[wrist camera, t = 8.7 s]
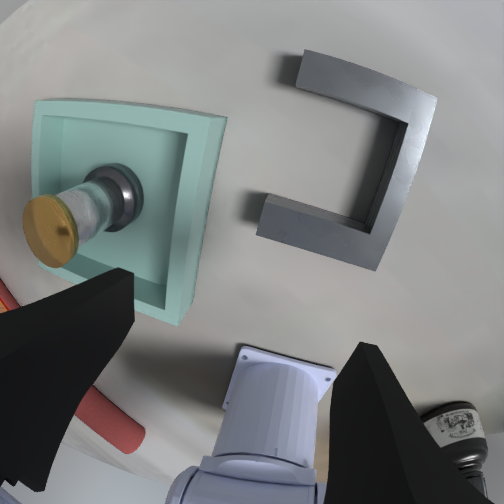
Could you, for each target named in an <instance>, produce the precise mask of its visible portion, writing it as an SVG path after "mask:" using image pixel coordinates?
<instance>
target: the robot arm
mask: <svg viewBox="0 0 504 504" xmlns="http://www.w3.org/2000/svg"><path fill="white" fill-rule="evenodd" d="M134 321H135V315H134V273H133V272H130V271H127V270H125V269H122V268H119V267H117V268H114V269H112V270H109V271H107V272H104V273H102V274H100V275H97V276H95V277H93V278H91V279H88V280H86V281H84V282H82V283H79V284H77V285H75V286H72V287H70V288H68V289H66V290H63V291H61V292H59V293H56V294H54V295H51V296H48V297H46V298H43V299H41V300H38V301H36V302H34V303H31V304H28V305H25V306H22V307H19V308H16V309H13V310H9V311H6V312H3V313H0V504H21V503H20V502H19V501H18V500H16V499H15V498H14V497H13V496H11V495H10V494H9V493H8V492H7V491H5V490H4V489H3V488H2V487H1V485H2V483H3V482H4V480H6V481H7V482H8V483H9V484H10V485H12V486H15V485H16V483H17V481H18V480H19V481H20V482H21V483H23V484H24V485H26V486H27V487H29V488H30V489H31V490H33V491H34V492H41V491H44V490H45V487H46V483H47V479H48V476H49V473H50V469H51V466H52V463H53V461H54V458H55V456H56V453H57V450H58V448H59V445H60V443H61V441H62V439H63V436H64V434H65V432H66V430H67V428H68V425H69V423H70V421H71V419H72V417H73V416H74V414H75V412H76V410H77V408H78V406H79V404H80V402H81V401H82V399H83V397H84V396H85V394H86V393H87V391H88V390H89V388H90V387H91V386H92V384H93V383H94V382H95V380H96V379H97V377H98V376H99V375H100V373H101V372H102V371H103V369H104V368H105V366H106V365H107V364H108V362H109V361H110V360H111V358H112V357H113V356H114V354H115V353H116V352H117V350H118V349H119V347H120V346H121V344H122V343H123V341H124V339H125V337H126V336H127V334H128V332H129V330H130V328H131V327H132V325H133V323H134ZM243 355H245V356H243ZM246 356H247V357H246ZM327 377H329V378H327ZM335 377H336V370H335V369H332V368H327V367H323V366H319V365H315V364H311V363H307V362H303V361H299V360H295V359H291V358H288V357H284V356H280V355H277V354H273V353H269V352H266V351H262V350H259V349H256V348H252V347H249V346H243V347H241V349H240V352H239V356H238V359H237V362H236V365H235V368H234V372H233V375H232V378H231V381H230V384H229V387H228V391H227V394H226V397H225V400H224V403H223V406H222V408H223V409H224V410H226V413H225V416H224V419H223V422H222V425H221V428H220V431H219V434H218V437H217V441H216V444H215V447H214V450H213V453H212V456H211V457H210V456H203V459H202V462H201V464H200V467H198V466H191V467H189V468H187V469H186V470H185V471H183V472H181V473H180V474H179V475H178V476H177V477H176V479H175V480H174V482H173V483H172V485H171V487H170V490H169V492H168V495H167V498H166V501H165V504H494V503H493V502H491V501H490V500H489V499H487V498H486V497H485V496H484V495H483V494H482V493H481V492H480V491H479V490H478V489H476V488H475V487H474V486H473V485H472V484H471V483H470V482H469V481H468V480H467V479H466V478H465V477H464V475H463V474H462V473H461V472H460V471H459V470H458V469H457V468H456V466H455V465H454V464H453V463H452V462H451V461H450V459H449V458H448V457H447V456H446V454H445V453H444V452H443V450H442V449H441V448H440V446H439V445H438V444H437V442H436V441H435V440H434V438H433V437H432V435H431V434H430V433H429V431H428V430H427V428H426V427H425V425H424V423H423V422H422V420H421V419H420V417H419V416H418V414H417V412H416V411H415V409H414V407H413V406H412V404H411V402H410V401H409V399H408V397H407V396H406V394H405V392H404V390H403V389H402V387H401V385H400V383H399V382H398V380H397V378H396V376H395V375H394V373H393V371H392V369H391V368H390V366H389V364H388V362H387V361H386V359H385V357H384V356H383V354H382V352H381V351H380V349H379V348H378V346H377V345H373V344H368V343H364V342H359V344H358V345H357V347H356V349H355V350H354V352H353V353H352V355H351V357H350V358H349V360H348V361H347V363H346V364H345V366H344V367H343V369H342V370H341V372H340V373H339V375H338V376H337V378H336V379H335ZM334 379H335V381H334V383H333V390H332V397H331V406H330V440H329V471H328V481H327V485H326V484H325V483H324V482H316V483H315V478H316V469H313V461H314V450H315V438H316V424H317V408H318V402H319V401H320V399H321V398H322V396H323V395H324V393H325V392H326V391H327V389H328V388H329V386H330V385H331V383H332V382H333V380H334Z"/></svg>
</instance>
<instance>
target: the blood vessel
mask: <svg viewBox="0 0 504 504" xmlns="http://www.w3.org/2000/svg"><path fill="white" fill-rule="evenodd" d="M19 307H20V306H19V304H18V303H17V302H16V300H15V299H14V298H13V296H12V295H11V294H10V292H9V291H8V290H7V288H6V287H5V285H4V284H3V282H2V281H1V280H0V313H3V312H6V311H9V310H13V309H16V308H19ZM74 415H75V416H77V417H78V418H79V419H80V420H81V421H82V422H84V423H85V424H86V425H87V426H89V427H90V428H91V429H92V430H93V431H95V432H96V433H97V434H99V435H100V436H101V437H102V438H104V439H105V440H106V441H108V442H109V443H110V444H112V445H113V446H115V447H116V448H117V449H119V450H120V451H122V452H123V453H125V454H130V453H133V452H134V451H135V450H137V448H138V447H139V446H140V445H141V443H142V441H143V439H144V437H145V429H144V428H143V427H142V426H140V425H139V424H138V423H136V422H135V421H134V420H133V419H131V418H130V417H129V416H128V415H126V414H125V413H124V412H123V411H121V410H120V409H119V408H118V407H117V406H115V405H114V404H113V403H112V402H111V401H109V400H108V399H107V398H106V397H105V396H104V395H103V394H101V393H100V392H99V391H98V390H97V389H96V388H95V387H94V386H93V385H92V386H91V387H90V388H89V390H88V391H87V393H86V394H85V396H84V397H83V399H82V401H81V402H80V404H79V406H78V408H77V410H76V412H75V414H74Z"/></svg>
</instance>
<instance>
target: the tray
mask: <svg viewBox="0 0 504 504" xmlns="http://www.w3.org/2000/svg"><path fill="white" fill-rule="evenodd" d="M227 118H228V117H223V116H218V115H213V114H208V113H203V112H197V111H191V110H185V109H179V108H172V107H165V106H158V105H150V104H142V103H132V102H122V101H110V100H96V99H75V98H59V99H47V100H37V101H35V108H34V118H33V131H32V151H31V188H32V199H34V198H37V197H39V196H41V195H43V194H53V195H57V194H59V193H61V192H64V191H66V190H68V189H71V188H73V187H75V186H78V185H80V184H82V183H83V181H84V179H85V177H86V176H87V174H88V173H89V172H91V171H92V170H94V169H96V168H98V167H101V166H104V165H107V164H111V163H120V164H123V165H125V166H127V167H129V168H130V169H131V170H132V171H133V172H134V173H135V174H136V175H137V177H138V178H139V180H140V182H141V185H142V188H143V193H144V204H143V209H142V211H141V213H140V215H139V216H138V218H137V219H136V220H135V221H133V222H132V223H130V224H129V225H128V226H126V227H125V228H123V229H122V230H120V231H117V232H105V231H102V232H100V233H99V234H97V235H96V236H94V237H93V238H92V239H90V240H89V241H87V242H86V243H84V244H83V245H81V246H80V247H78V250H77V253H76V255H75V256H74V257H73V258H72V259H71V260H70V261H68V262H67V263H66V264H64V265H63V266H62V267H60V268H51V267H48V266H46V265H45V264H43V263H42V262H41V261H40V260H39V259H38V264H39V267H41V268H43V269H45V270H47V271H49V272H51V273H53V274H55V275H57V276H59V277H61V278H63V279H65V280H68V281H70V282H72V283H74V284H76V285H77V284H79V283H82V282H84V281H86V280H88V279H91V278H93V277H95V276H97V275H100V274H102V273H104V272H107V271H109V270H112V269H114V268H117V267H119V268H122V269H125V270H127V271H130V272H133V273H134V310H136V311H139V312H141V313H144V314H146V315H149V316H151V317H154V318H157V319H159V320H162V321H164V322H167V323H170V324H173V325H175V326H178V325H179V324H180V322H181V320H182V319H183V317H184V315H185V314H186V312H187V310H188V309H189V307H190V306H191V304H192V302H193V297H194V291H195V284H196V278H197V272H198V265H199V259H200V253H201V248H202V242H203V236H204V230H205V225H206V219H207V214H208V209H209V203H210V198H211V193H212V188H213V183H214V178H215V173H216V168H217V163H218V158H219V154H220V149H221V144H222V140H223V135H224V131H225V126H226V122H227Z"/></svg>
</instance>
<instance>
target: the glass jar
mask: <svg viewBox="0 0 504 504" xmlns="http://www.w3.org/2000/svg"><path fill="white" fill-rule="evenodd" d="M143 204H144V193H143V188H142V185H141V182H140V180H139V178H138V177H137V175H136V174H135V173H134V172H133V171H132V170H131V169H130V168H129V167H127V166H125V165H123V164H120V163H111V164H107V165H104V166H101V167H98V168H96V169H94V170H92V171H91V172H89V173H88V174H87V176H86V177H85V179H84V181H83V183H82V184H80V185H78V186H75V187H73V188H71V189H68V190H66V191H64V192H61V193H59V194H57V195H53V194H43V195H41V196H39V197H37V198H34V199H32V200H31V201H29V202H28V203H27V205H26V207H25V209H24V213H23V229H24V234H25V237H26V240H27V242H28V245H29V247H30V248H31V250H32V252H33V253H34V255H35V256H36V257H37V258H38V259H39V260H40V261H41V262H42V263H43V264H45V265H46V266H48V267H51V268H60V267H62V266H63V265H64V264H66V263H67V262H68V261H70V260H71V259H72V258H73V257H74V256H75V255H76V253H77V250H78V247H80V246H81V245H83V244H84V243H86V242H87V241H89V240H90V239H92V238H93V237H94V236H96V235H97V234H99V233H100V232H102V231H105V232H117V231H120V230H122V229H123V228H125V227H126V226H128V225H129V224H130V223H132V222H133V221H135V220H136V219H137V218H138V216H139V215H140V213H141V211H142V209H143Z"/></svg>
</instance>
